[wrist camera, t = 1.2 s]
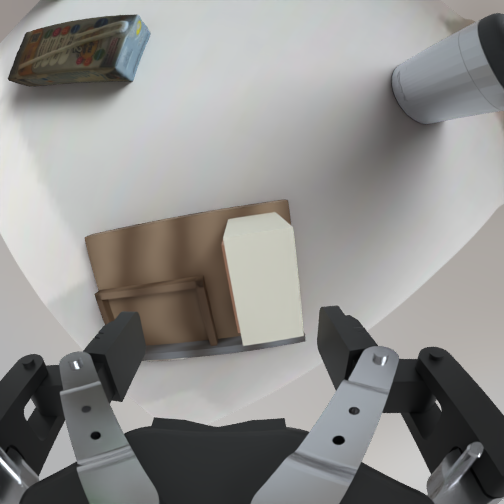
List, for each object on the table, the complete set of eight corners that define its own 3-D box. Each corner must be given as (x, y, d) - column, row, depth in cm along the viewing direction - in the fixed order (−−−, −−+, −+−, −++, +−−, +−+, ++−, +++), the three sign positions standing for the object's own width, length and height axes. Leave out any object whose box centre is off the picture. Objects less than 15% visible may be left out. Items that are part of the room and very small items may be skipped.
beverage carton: (134, 86, 27) (112, 68, 21) (29, 89, 25) (2, 81, 19) (153, 33, 25) (138, 8, 19) (46, 43, 23) (23, 30, 17)
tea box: (275, 211, 30) (292, 227, 20) (285, 290, 32) (303, 335, 22) (225, 219, 29) (218, 238, 20) (239, 298, 32) (239, 346, 22)
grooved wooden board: (284, 199, 31) (291, 202, 27) (299, 327, 35) (305, 343, 31) (92, 234, 31) (76, 241, 27) (126, 347, 35) (117, 363, 31)
